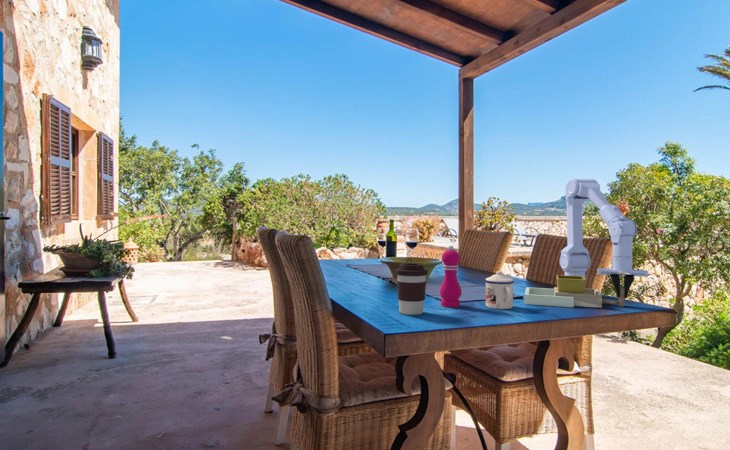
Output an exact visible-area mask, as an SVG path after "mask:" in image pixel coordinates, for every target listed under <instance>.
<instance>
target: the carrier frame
mask: <svg viewBox="0 0 730 450" xmlns="http://www.w3.org/2000/svg"><path fill="white" fill-rule="evenodd" d="M553 289H554V296H564V297H574V307H584V308H596V309H597V308H600V309H602V308H603V304H605V305H606V304H607V305H609V304H610V305H618V306H619V307H623V308H624V307H625V298H624V290H625V288H624V286H620V298H618V297H617V298H618V299H617V300H603V295H602V293H601V292H600V291H599V289H598V288H586V287H585V290H584V294H576V293H559V292H558V289H557V286H554V287H553Z"/></svg>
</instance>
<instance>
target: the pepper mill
mask: <svg viewBox="0 0 730 450" xmlns="http://www.w3.org/2000/svg"><path fill="white" fill-rule="evenodd" d="M447 249H448V250H445V251H444V252H443V253H442V255H441V262H442V263H443V265H442V269H443V271H444V278H443V281H442V283H441V286H440V288H439V295H440V297H441V298H442V299H441V300H440V306H442V307H445V308H459V307H461V300H460V299H459V298H461V296H462V287H461V285H460V283H459V281H458V273H457V272H458V270H459V265H458V264H459V262H460V260H461V256H460V254H459V252H458V251H456V250H454V246H453V245H449V246H448V247H447Z"/></svg>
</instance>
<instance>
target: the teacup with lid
mask: <svg viewBox="0 0 730 450" xmlns="http://www.w3.org/2000/svg"><path fill="white" fill-rule="evenodd" d="M503 273H504V272H503V271H501V270H498V271H496V274H492V275H491V276H489V277H486V278H485V280H484V282H485V306H486V307H487V308H489V309H495V310H508V309H509V310H510V309H512V308H513V307H514V283H515V281H514V279H513V278H510V277H508V276H507V275H505V274H503Z"/></svg>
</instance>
